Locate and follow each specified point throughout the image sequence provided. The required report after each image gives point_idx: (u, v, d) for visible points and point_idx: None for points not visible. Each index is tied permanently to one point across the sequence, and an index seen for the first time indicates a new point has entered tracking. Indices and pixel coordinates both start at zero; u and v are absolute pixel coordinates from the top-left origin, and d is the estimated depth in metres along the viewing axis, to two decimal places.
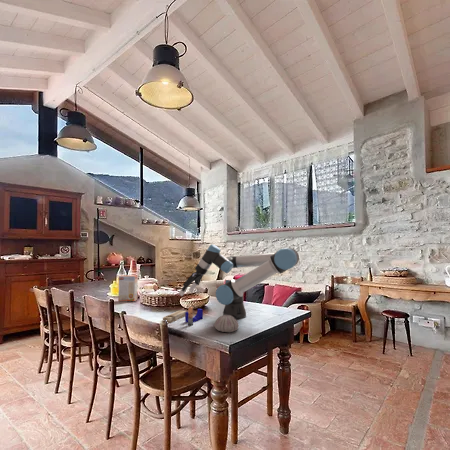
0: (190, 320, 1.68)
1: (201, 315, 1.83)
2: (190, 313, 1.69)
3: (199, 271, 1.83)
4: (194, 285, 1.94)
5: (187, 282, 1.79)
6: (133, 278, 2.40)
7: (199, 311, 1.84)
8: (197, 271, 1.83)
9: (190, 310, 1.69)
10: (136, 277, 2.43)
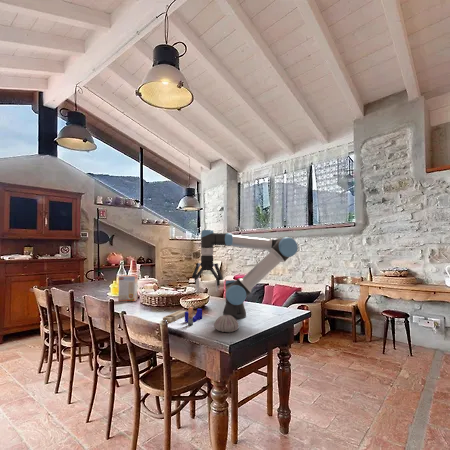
0: (190, 320, 1.68)
1: (200, 315, 1.83)
2: (190, 313, 1.69)
3: None
4: (198, 281, 1.81)
5: (220, 274, 1.76)
6: (133, 278, 2.40)
7: (198, 311, 1.84)
8: (212, 261, 1.78)
9: (190, 310, 1.69)
10: (136, 277, 2.43)
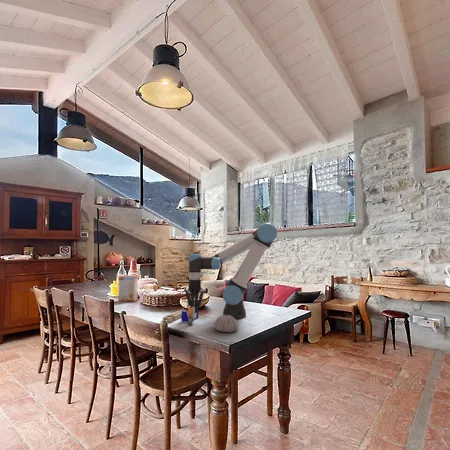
0: (190, 320, 1.68)
1: (197, 314, 1.85)
2: (190, 313, 1.69)
3: None
4: None
5: (200, 302, 1.79)
6: (133, 278, 2.40)
7: None
8: None
9: (190, 310, 1.69)
10: (136, 277, 2.43)
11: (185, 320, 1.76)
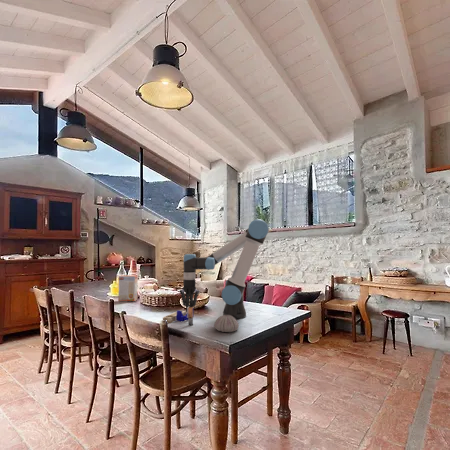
0: (190, 320, 1.68)
1: None
2: (190, 313, 1.69)
3: None
4: None
5: (195, 301, 1.80)
6: (133, 278, 2.40)
7: None
8: None
9: (190, 310, 1.69)
10: (136, 277, 2.43)
11: (180, 319, 1.78)
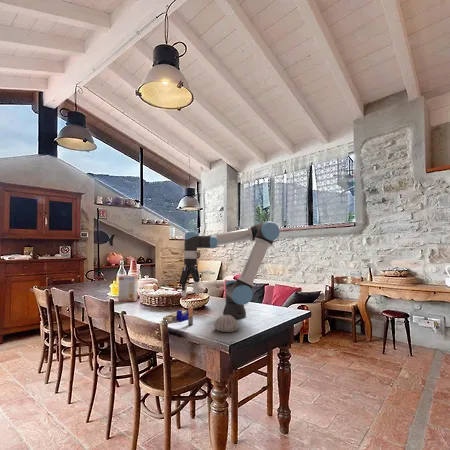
0: (190, 320, 1.68)
1: None
2: (190, 313, 1.69)
3: None
4: None
5: None
6: (133, 278, 2.40)
7: None
8: None
9: (190, 310, 1.69)
10: (136, 277, 2.43)
11: (180, 319, 1.78)
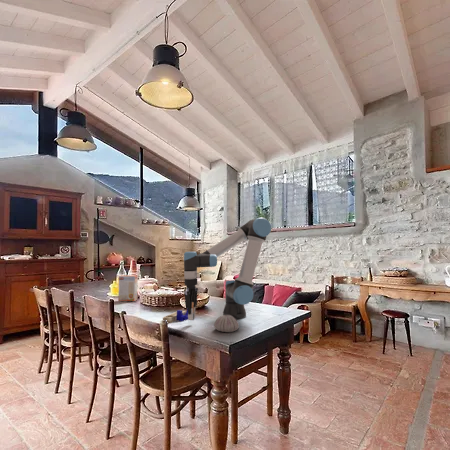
0: None
1: None
2: None
3: None
4: None
5: None
6: (133, 278, 2.40)
7: None
8: None
9: None
10: (136, 277, 2.43)
11: (181, 319, 1.79)
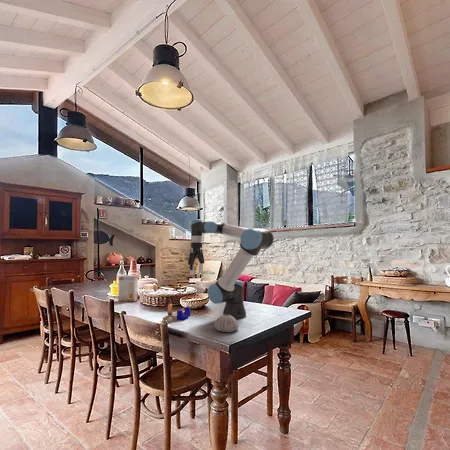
0: (169, 316, 1.77)
1: (189, 312, 1.90)
2: (169, 310, 1.77)
3: None
4: None
5: None
6: (133, 278, 2.40)
7: (187, 309, 1.90)
8: None
9: (169, 307, 1.77)
10: (136, 277, 2.43)
11: (181, 319, 1.79)
